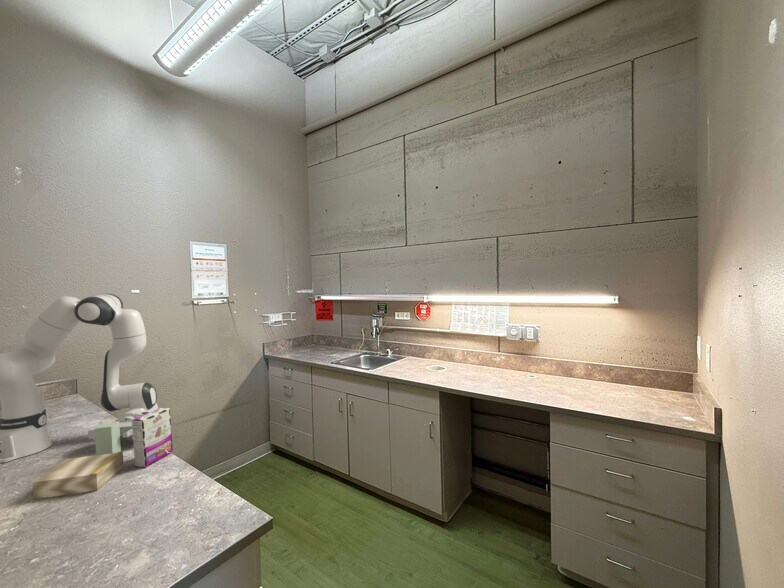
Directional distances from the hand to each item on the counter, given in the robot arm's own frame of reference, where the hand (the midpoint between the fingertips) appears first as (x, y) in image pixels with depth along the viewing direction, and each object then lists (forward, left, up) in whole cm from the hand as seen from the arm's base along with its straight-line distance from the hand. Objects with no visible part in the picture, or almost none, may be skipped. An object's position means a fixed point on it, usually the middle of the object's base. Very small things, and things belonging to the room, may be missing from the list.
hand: (110, 436), depth 124 cm
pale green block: (0, -1, -7) cm, 7 cm away
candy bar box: (+17, -7, -7) cm, 20 cm away
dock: (+1, -17, -7) cm, 19 cm away
